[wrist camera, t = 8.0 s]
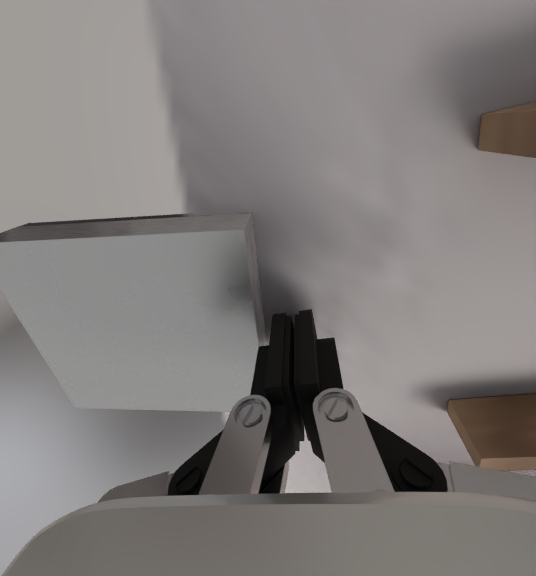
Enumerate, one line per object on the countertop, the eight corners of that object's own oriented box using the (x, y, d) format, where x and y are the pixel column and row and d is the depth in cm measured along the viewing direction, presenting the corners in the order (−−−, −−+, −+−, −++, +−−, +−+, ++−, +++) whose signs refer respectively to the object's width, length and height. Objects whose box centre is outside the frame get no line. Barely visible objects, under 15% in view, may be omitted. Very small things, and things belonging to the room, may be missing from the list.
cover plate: (253, 209, 11) (243, 229, 9) (271, 372, 16) (266, 412, 13) (27, 223, 12) (-30, 243, 10) (103, 371, 17) (75, 407, 15)
